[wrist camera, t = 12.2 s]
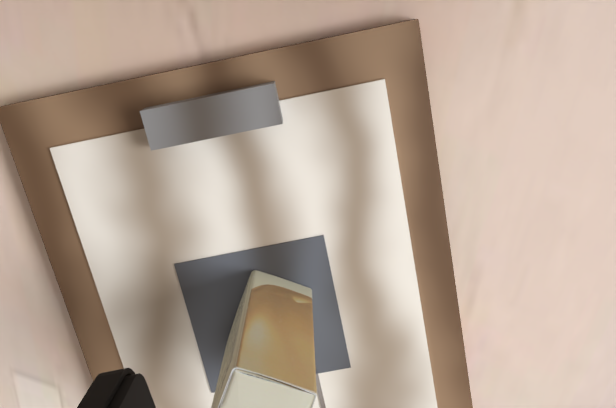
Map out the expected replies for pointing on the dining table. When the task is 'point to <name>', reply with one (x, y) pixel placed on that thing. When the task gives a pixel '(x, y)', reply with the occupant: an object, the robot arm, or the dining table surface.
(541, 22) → the dining table surface
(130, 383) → the robot arm
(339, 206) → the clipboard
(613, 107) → the dining table surface
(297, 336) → the skincare box
